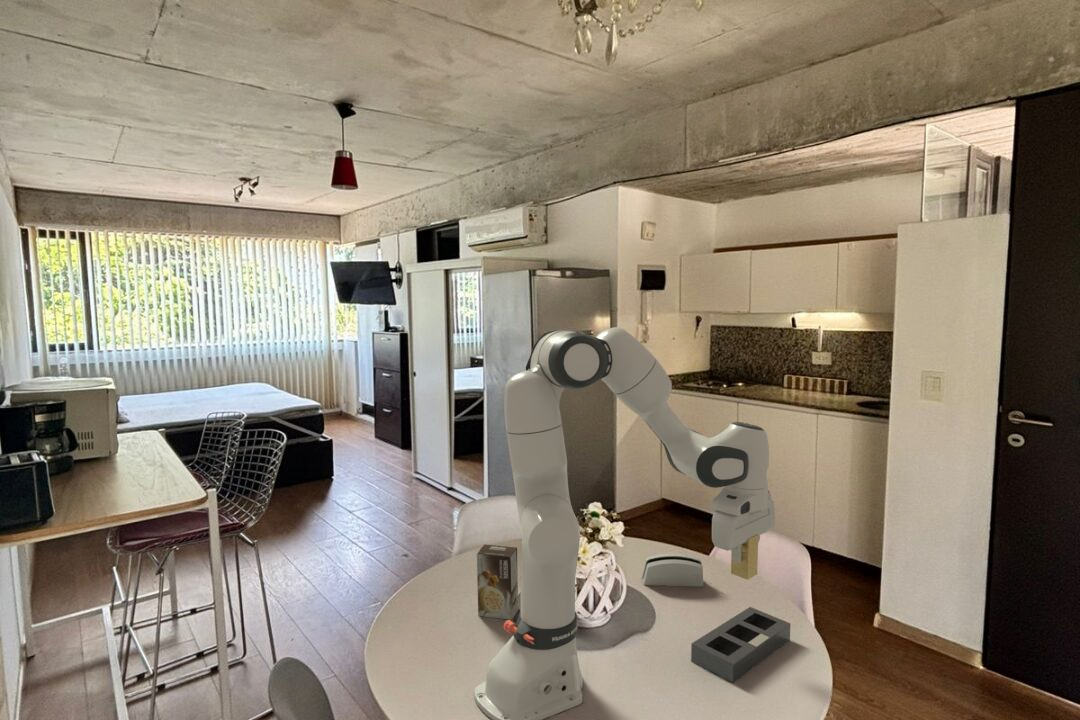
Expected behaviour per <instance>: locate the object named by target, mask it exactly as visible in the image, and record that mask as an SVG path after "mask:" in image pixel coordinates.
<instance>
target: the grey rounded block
mask: <svg viewBox="0 0 1080 720" xmlns="http://www.w3.org/2000/svg"><path fill="white" fill-rule="evenodd" d="M641 579H642V584H643V586H661V585H666V586H667V585H668V586H667V587H671V586H672V587H701V586H703V587H704V568H703V564H702V561H701V559H700V558H699V557H696V556H693V555H688V554H682V553H660V554H654V555H651V556H648V557H647V558H646V559H645V564H644V568H643V571H642V574H641Z"/></svg>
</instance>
